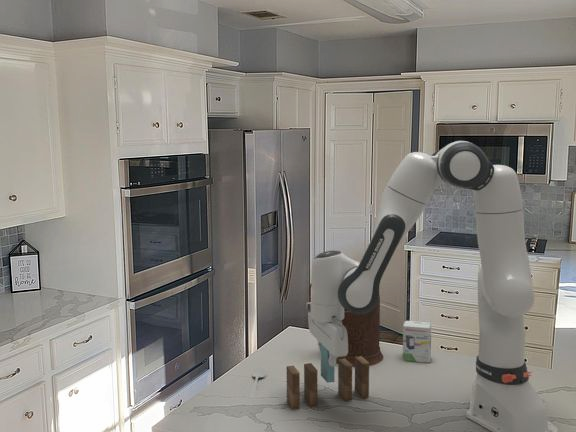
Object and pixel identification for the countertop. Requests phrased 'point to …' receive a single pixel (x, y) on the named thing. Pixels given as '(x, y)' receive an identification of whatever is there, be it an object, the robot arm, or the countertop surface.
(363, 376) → the domino
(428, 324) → the ink box
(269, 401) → the countertop surface
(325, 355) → the domino
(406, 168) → the robot arm
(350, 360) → the brown pitcher
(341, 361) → the domino
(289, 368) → the domino
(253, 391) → the spoon
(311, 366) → the domino
